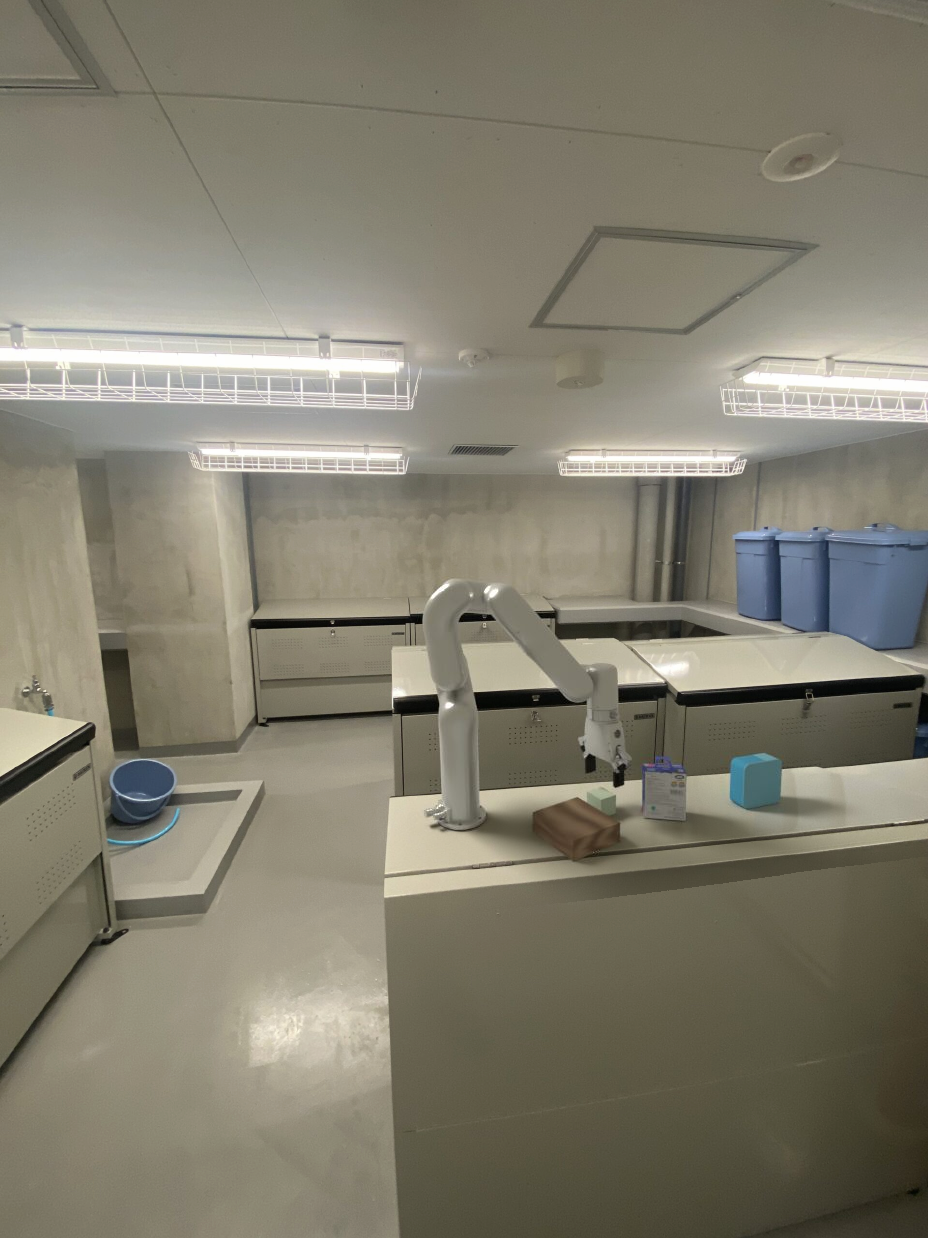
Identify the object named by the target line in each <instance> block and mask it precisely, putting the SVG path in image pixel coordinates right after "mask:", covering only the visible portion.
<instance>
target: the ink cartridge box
mask: <svg viewBox="0 0 928 1238" xmlns="http://www.w3.org/2000/svg"><path fill="white" fill-rule="evenodd" d="M654 759H655V760H654V763H642V764H641V774H642V775H641V785H642V788H641V792H642V793H641V794H642V796H641V812H642V816H643V818H644V819H653V820H654V819H656V820H668V821H669V820H670V821H681V822H682V821H683V822H685V821H686V819H687V817H686V815H687V814H686V813H687V775H688V774H687V772H686V770H685V768H684V767H683V765H681V764H672V761H671V760H672V759H671V756H659V755H656V756H654ZM660 760H664V761H667V762H659V761H660Z"/></svg>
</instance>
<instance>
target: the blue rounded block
mask: <svg viewBox="0 0 928 1238" xmlns="http://www.w3.org/2000/svg"><path fill="white" fill-rule="evenodd" d="M782 768H783V762H782V760H781V759H780V758H777V757H775V756H773V755H770V754H767V753H766V752H762V753H756V754H750V755H744V756H737V757H733V758H732V759H731V762H730V771H729V772H730V778H729V799H730V801H731V802H733V803H735V804H737V805H738V806H740V807H742V808H744V809H745V810H749V809H755V808H760V807H764V806H769V805H770V806H771V805H775V804H777V803H779V802H780V800H781V794H782V776H783V775H782V774H783V769H782Z"/></svg>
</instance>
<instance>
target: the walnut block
mask: <svg viewBox="0 0 928 1238" xmlns="http://www.w3.org/2000/svg"><path fill="white" fill-rule="evenodd" d="M532 831H533V832H534V833H535V834H537V835H538V836H540V837H541V838H542V839H544V840H545V842H547V843H548V844H550V845H551V846H552V847H553V848H555V849H556V850H558V852H560V854H563V856H565V857H566V858H568V859H569V860H570V861H571V862H575V861H577V860H581V859H583V858H585V857H587V856H589V855H591V854H594V853H596V851H597V852H598V850H599V851H601V849H602V850H604V849H606V848H608V847H610V846H614V845H615V844H618V843H620V842H621V822H620V821H618V820H617V819H616V818H613V817H612V816H611V815H610V816H609V815H607V814H605V813H604V812H602V811H600V810H599V809H597V808H595V807H593V806H592V805H590V804H588V803H587V801H585V800H583V799H582V798H580V797H578V796H576V797H574V798H573V797H572V798H571V799H567V800H564V801H561V802H559V803H555V804H553V805H549V806H546V807H544V808H540V809H537V810H534V811H532ZM593 852H594V853H593Z"/></svg>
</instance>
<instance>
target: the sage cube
mask: <svg viewBox="0 0 928 1238" xmlns="http://www.w3.org/2000/svg"><path fill="white" fill-rule="evenodd" d="M586 802H587V803H588V804H590V805H592V806H593V807H595V808H597V809H599V810H600V811H602V812H604V813H605V814H607V815H609V816H610V817H611V816H612V815H615V814H617V794H615V793H613V792H612V791H610V790H608V789H607V788H606V787H605V788H604V787H603V786H600V787H598V788H597V787H596V788H593V789H590V790H587V791H586Z"/></svg>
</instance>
